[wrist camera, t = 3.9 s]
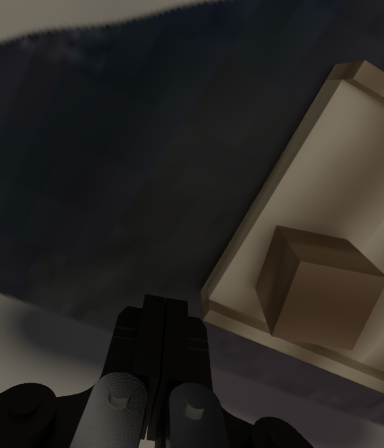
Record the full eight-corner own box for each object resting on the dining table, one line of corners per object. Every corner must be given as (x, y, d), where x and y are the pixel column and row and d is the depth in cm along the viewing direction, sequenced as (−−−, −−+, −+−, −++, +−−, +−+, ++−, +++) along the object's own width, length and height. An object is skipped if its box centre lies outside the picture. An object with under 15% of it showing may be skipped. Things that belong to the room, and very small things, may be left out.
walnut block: (276, 225, 18) (300, 260, 14) (347, 239, 18) (388, 278, 14) (254, 288, 19) (271, 336, 16) (320, 300, 20) (352, 350, 16)
